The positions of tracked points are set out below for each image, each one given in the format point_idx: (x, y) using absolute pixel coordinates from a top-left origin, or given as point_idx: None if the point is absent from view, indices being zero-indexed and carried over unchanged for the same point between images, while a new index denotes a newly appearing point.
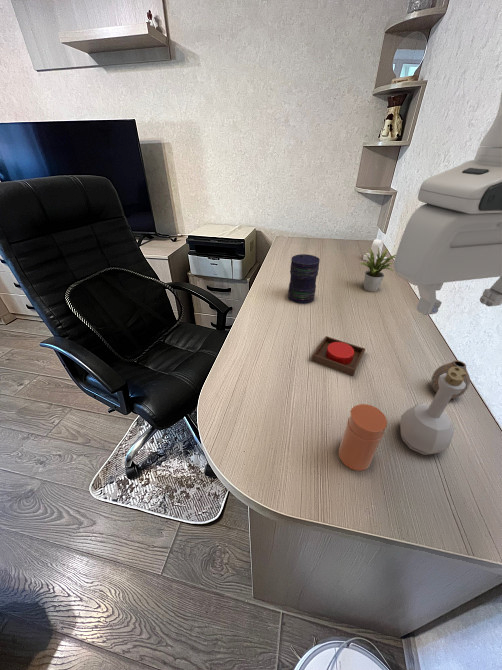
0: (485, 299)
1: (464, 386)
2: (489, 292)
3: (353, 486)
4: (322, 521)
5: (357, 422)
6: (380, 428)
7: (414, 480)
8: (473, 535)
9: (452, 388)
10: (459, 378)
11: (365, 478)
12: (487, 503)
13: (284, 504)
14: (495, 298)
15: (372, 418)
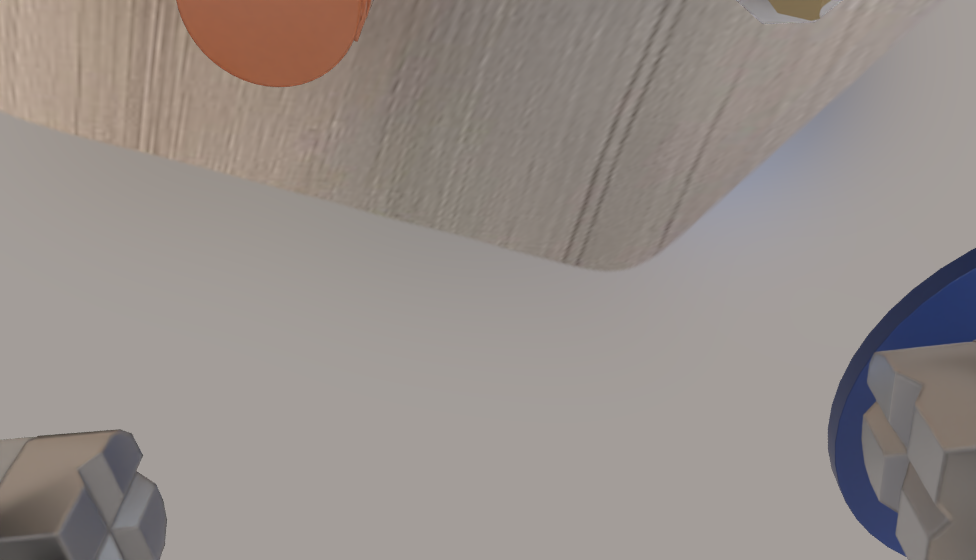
0: (892, 421)
1: (831, 5)
2: (931, 496)
3: None
4: (151, 154)
5: (196, 27)
6: (305, 71)
7: (535, 53)
8: (615, 226)
9: (748, 7)
10: (802, 5)
11: None
12: (742, 150)
13: (17, 94)
14: (906, 542)
15: (285, 7)
